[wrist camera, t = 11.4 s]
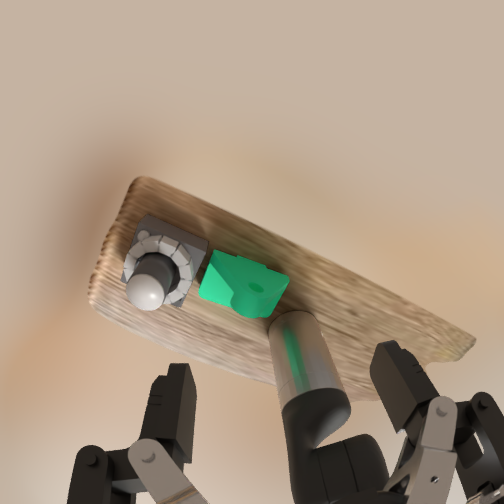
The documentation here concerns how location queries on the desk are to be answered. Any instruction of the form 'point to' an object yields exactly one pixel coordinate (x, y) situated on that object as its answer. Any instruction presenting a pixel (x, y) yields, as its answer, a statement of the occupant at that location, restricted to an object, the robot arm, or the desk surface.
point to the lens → (151, 281)
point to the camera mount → (242, 285)
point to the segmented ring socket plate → (171, 244)
